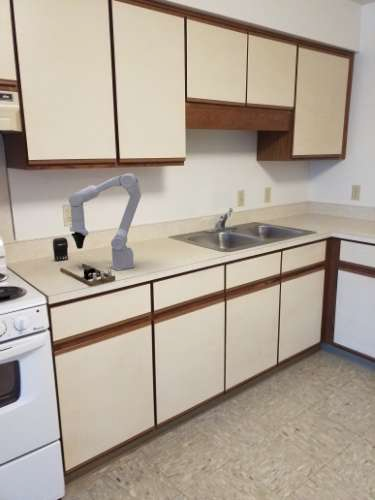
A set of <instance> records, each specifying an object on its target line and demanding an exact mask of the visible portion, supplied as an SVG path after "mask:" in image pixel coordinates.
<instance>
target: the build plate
mask: <svg viewBox="0 0 375 500" xmlns="http://www.w3.org/2000/svg"><path fill="white" fill-rule="evenodd" d="M95 269H96V268H95V267H93V266H90V267H89V268H84V269H83V276H81V277H82V278H84V279H86V280H88V281H91V280H93V273H96V270H95ZM96 277H97V278H101V275H99V274H97V273H96Z"/></svg>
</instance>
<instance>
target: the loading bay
mask: <svg viewBox="0 0 375 500" xmlns="http://www.w3.org/2000/svg"><path fill="white" fill-rule="evenodd" d="M81 267H82V268H84V269H85V268H89V267H91V265H88V264H86V263H81ZM59 269H60V273H63V274H65V275H66V276H69V277H70V278H72V279H75V280H77V281H79V282H80V283H82V284H85V285H87V286H88V287H95V286H98V285H102V284H105V283H106V284H107V283H110V282H115V281H116V275H113V274H112V269H107V272H105V271H104V270H100V269H97V268H95V270H96V273H93V279H92V280H86V279H84V278H82V277H83V276H81V275H78V274H76V273H73V272H71V271H69V270H67V269H65V268H63V267H60V268H59ZM96 274H98V275H101V277H100V278H98V277H96Z"/></svg>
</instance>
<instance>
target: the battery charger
mask: <svg viewBox="0 0 375 500" xmlns="http://www.w3.org/2000/svg"><path fill="white" fill-rule="evenodd" d="M68 248H69V244H68V238H66V237H64V236H63V237H56V238H53V239H52V251H53V260H54V261H56V262H61V261H67V260H68V259H69V256H68V253H69V252H68Z"/></svg>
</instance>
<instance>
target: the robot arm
mask: <svg viewBox="0 0 375 500" xmlns="http://www.w3.org/2000/svg"><path fill="white" fill-rule="evenodd" d="M113 187H123V189H124V190H126V192H127V193H128V195H129V199H128V201H127V204H126V207H125V209H124V212H123V215H122V218H121V222H119V223H120V224H119V227H118V229H117V232H116V233H115V235H114V237H113V238H112V239H111V241H110V245H111V257H112V258H111V259H112V262H111V263H112V265H109V266H108V268H109V269H110V268H111V269H113V270H116V271H122V270H126V269H131V268H135V265H134V264H135V263H134V261H135V260H134V251H133V249H132V248H130V247H128V246H127V245H126V244H127V243H128V235H129V234H128V233H129V230H130V227H131V226H132V222H133V219H134V216H135V213H136V211H137V209H138V205H139V204H140V203H139V202H140V201H141V200H140V199H141V198H142V191H141V187H140V182H139V179H138V178H137V176H136V175H135V174H134V173H132V172H127V173H124V174H121V175H117V176H115V177H112V178H110V179H108V180H106V181H104V182H102V183H99V184H98V185H93V184H91V185H90V184H88V185H86V187H85V188H83V189H77V191H76V192H75V193H72V194H71V195H69V197H68V203H69V205H70V216H71V217H70V218H71V219H70V220H71V226H69V232H71V236H72V238H73V240H74V243H75V246H76V249H79V250H80V249H83V247H84V243H85V239H86V237H87V236H88V235H89V230H87V228H86V224H85V223H86V222H85V221H86V220H85V211H84V210H85V209H84V203H87V202H90V201H92V200H94V199H96V198H98V197H99V196H100V193H101V192H103V191H106V190H108V189H111V188H113Z"/></svg>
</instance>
